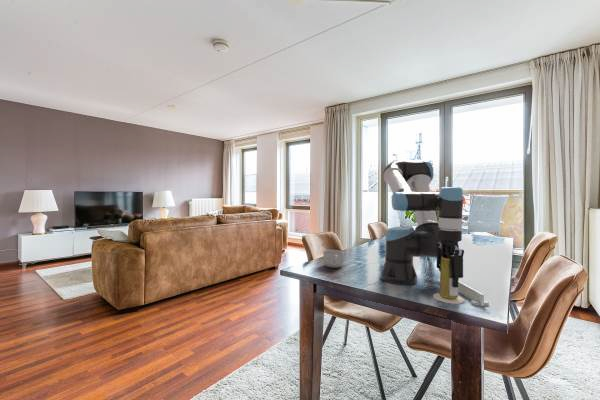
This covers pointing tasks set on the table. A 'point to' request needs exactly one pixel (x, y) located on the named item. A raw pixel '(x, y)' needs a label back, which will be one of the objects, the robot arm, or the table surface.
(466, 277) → the table surface
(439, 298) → the coaster
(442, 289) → the vase
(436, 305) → the table surface
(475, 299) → the acrylic wall
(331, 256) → the teacup
